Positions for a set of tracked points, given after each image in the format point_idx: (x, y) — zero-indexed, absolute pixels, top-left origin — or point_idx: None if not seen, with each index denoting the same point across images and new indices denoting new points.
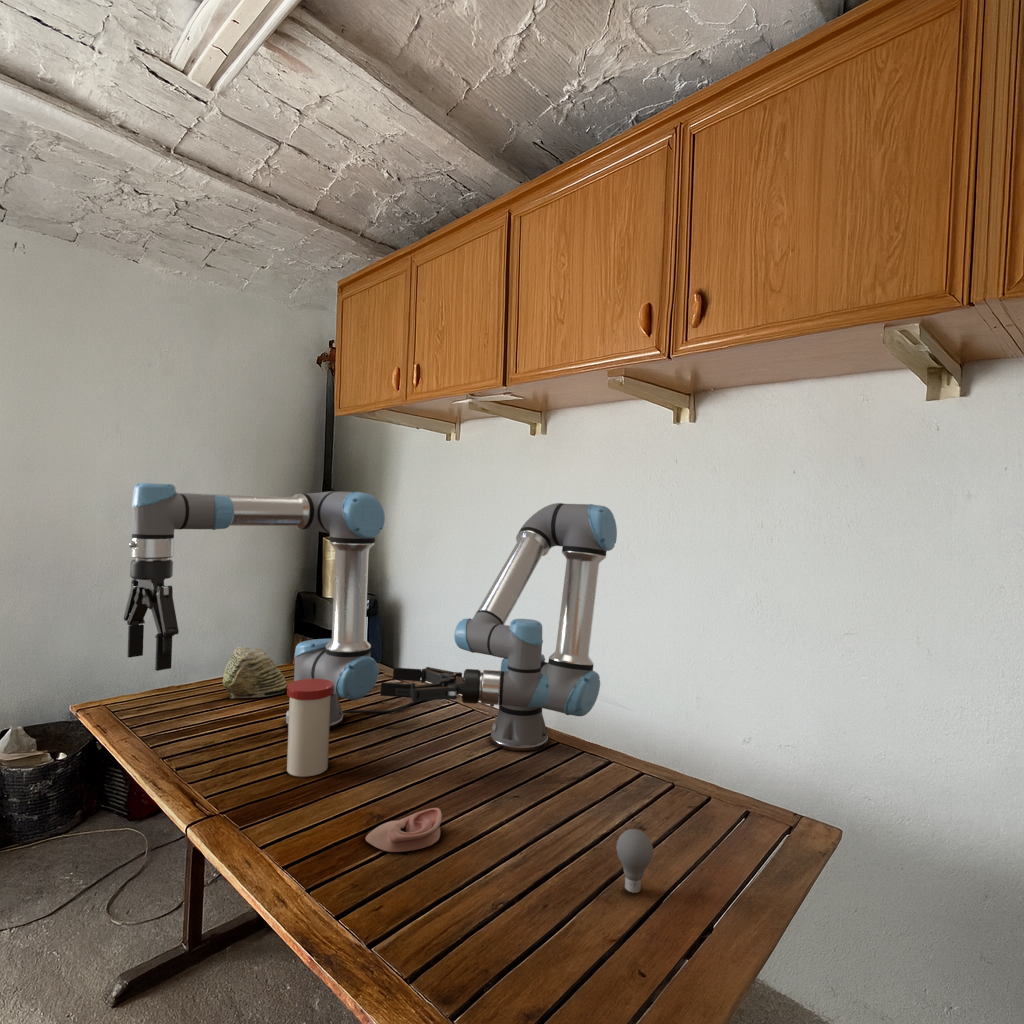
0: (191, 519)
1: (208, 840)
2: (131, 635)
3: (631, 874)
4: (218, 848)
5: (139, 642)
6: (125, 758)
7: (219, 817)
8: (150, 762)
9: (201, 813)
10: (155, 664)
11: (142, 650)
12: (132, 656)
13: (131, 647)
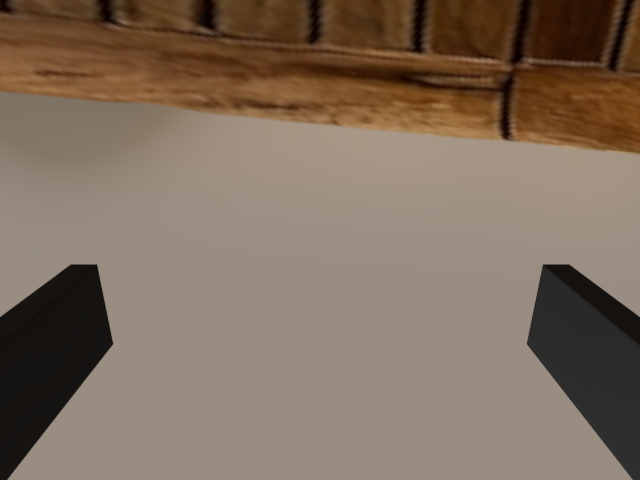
0: None
1: (591, 137)
2: (8, 459)
3: None
4: (633, 138)
5: (40, 344)
6: (52, 95)
7: (529, 75)
8: (117, 58)
9: (480, 95)
10: (547, 367)
11: (78, 285)
12: (108, 327)
13: (74, 376)
